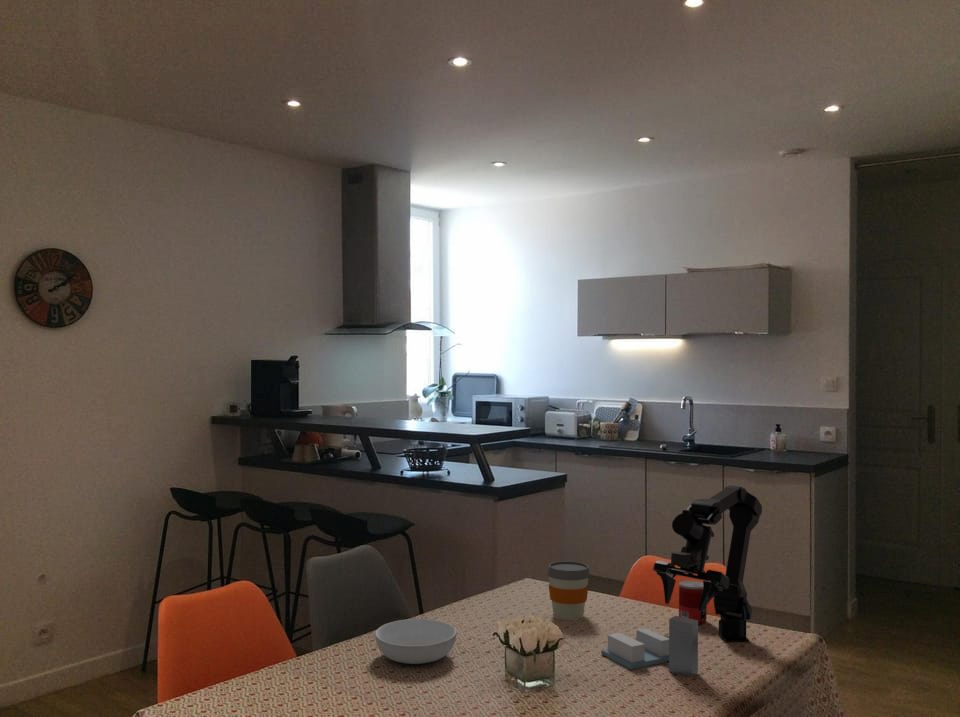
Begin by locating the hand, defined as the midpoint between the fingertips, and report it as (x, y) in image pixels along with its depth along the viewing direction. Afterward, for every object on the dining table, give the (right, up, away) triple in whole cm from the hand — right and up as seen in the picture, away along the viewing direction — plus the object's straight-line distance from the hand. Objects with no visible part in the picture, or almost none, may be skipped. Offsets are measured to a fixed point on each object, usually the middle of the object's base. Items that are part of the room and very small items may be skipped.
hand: (683, 607), depth 207 cm
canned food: (+12, -15, +37) cm, 42 cm away
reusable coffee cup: (-24, -15, +41) cm, 50 cm away
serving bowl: (-68, -14, +4) cm, 69 cm away
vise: (-8, -15, +7) cm, 18 cm away
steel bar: (-1, -15, -5) cm, 15 cm away
